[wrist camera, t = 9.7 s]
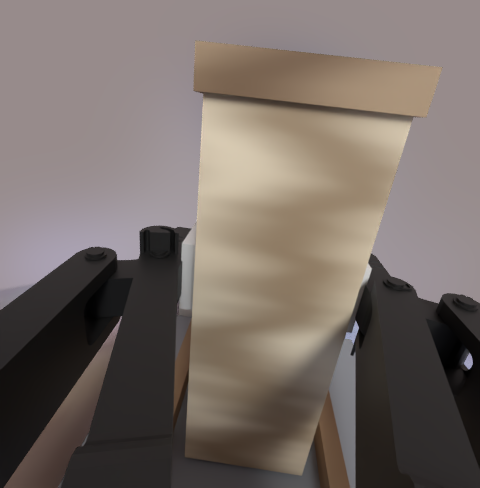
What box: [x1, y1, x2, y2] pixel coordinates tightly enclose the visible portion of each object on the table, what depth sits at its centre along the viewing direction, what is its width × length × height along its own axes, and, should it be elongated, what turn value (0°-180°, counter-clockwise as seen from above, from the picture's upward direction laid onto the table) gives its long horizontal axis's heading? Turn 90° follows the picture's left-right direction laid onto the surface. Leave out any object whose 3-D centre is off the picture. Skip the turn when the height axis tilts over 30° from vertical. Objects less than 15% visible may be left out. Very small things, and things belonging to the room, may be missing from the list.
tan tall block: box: [185, 41, 442, 476], centre depth 13 cm, size 5×8×15 cm, turn 175°
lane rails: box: [173, 318, 350, 488], centre depth 12 cm, size 8×21×1 cm, turn 175°
